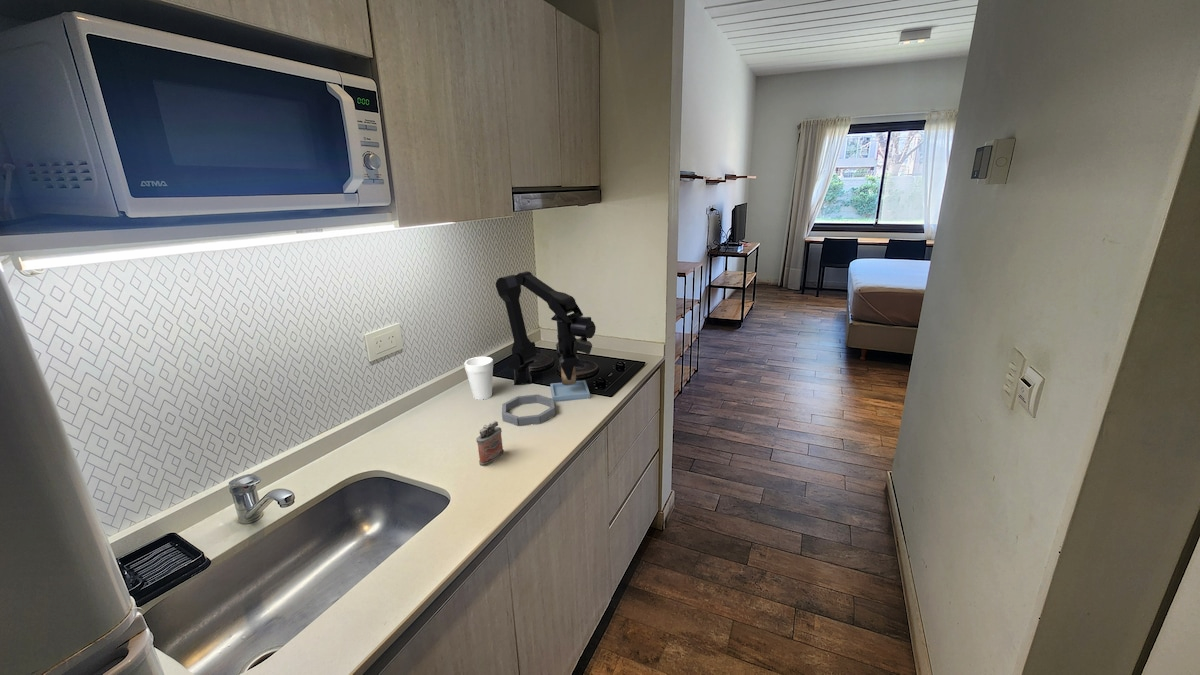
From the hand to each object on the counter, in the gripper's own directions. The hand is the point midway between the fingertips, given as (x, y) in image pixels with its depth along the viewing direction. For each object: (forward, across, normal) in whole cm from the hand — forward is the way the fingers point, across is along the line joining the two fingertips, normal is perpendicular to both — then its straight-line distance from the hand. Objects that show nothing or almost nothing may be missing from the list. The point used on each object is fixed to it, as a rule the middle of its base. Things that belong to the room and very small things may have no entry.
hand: (568, 376), depth 168 cm
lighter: (+6, -37, +25) cm, 45 cm away
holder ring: (+6, -12, +14) cm, 20 cm away
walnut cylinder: (+2, 0, 0) cm, 2 cm away
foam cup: (+6, +5, +30) cm, 31 cm away
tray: (+6, 0, 0) cm, 6 cm away
